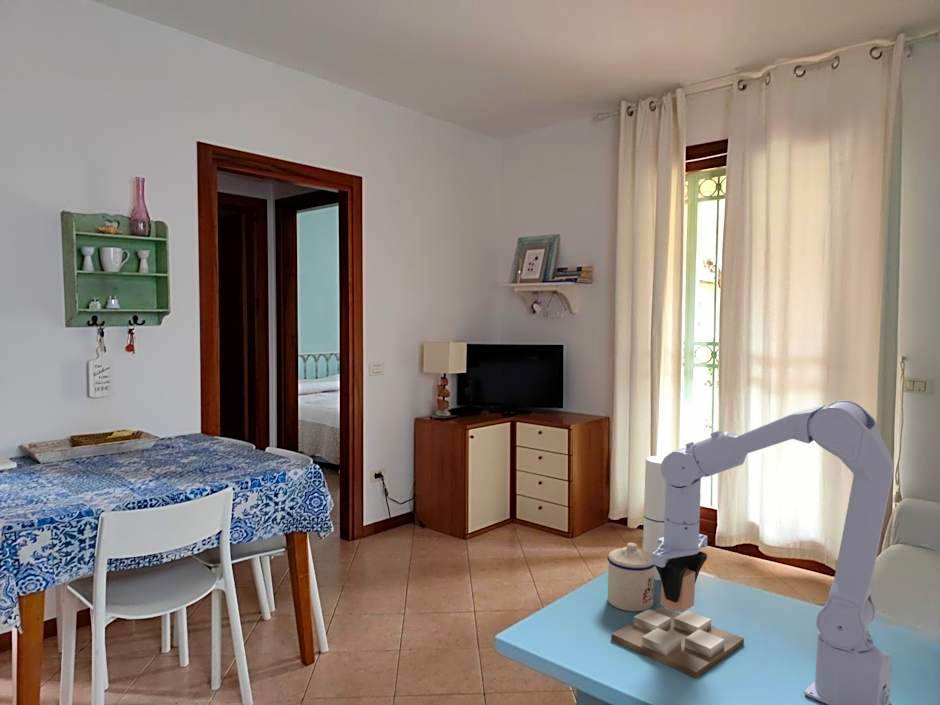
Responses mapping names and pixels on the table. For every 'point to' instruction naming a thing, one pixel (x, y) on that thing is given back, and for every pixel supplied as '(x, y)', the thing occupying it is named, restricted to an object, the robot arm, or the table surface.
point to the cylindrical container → (654, 506)
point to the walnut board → (681, 654)
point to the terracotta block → (682, 593)
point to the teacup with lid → (630, 578)
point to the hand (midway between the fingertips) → (678, 596)
